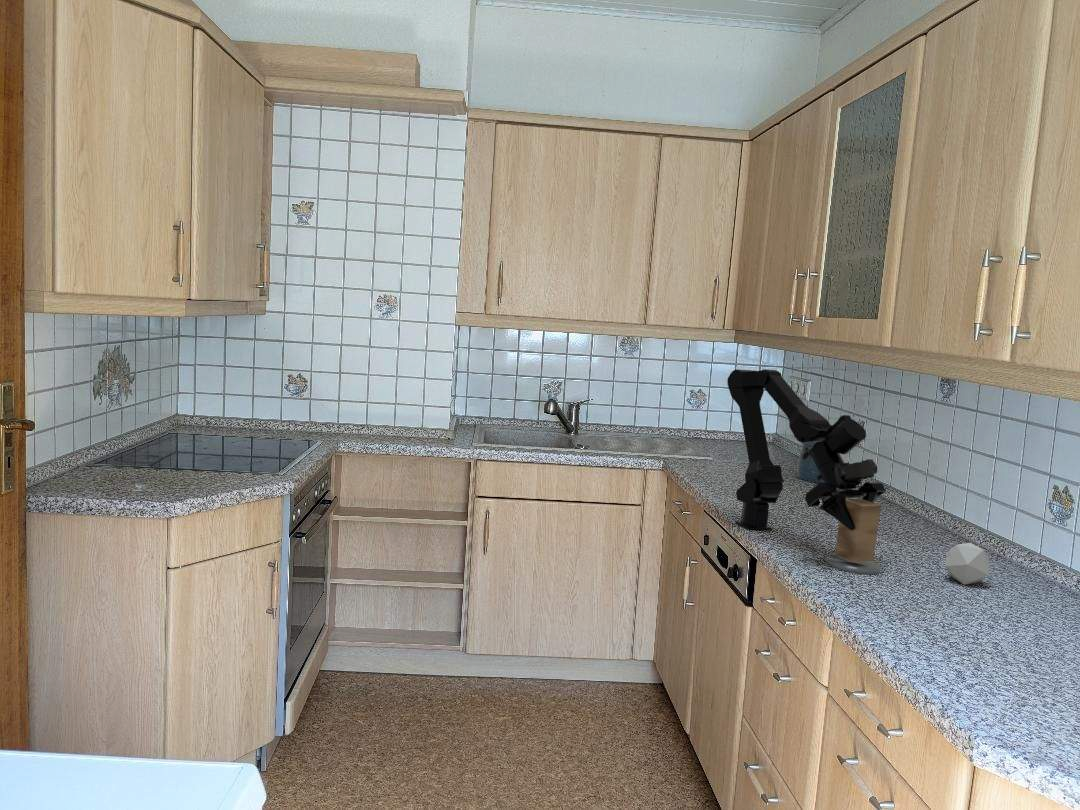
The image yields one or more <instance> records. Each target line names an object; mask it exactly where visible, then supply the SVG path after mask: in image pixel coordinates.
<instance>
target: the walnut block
mask: <svg viewBox="0 0 1080 810" xmlns="http://www.w3.org/2000/svg"><path fill="white" fill-rule="evenodd" d="M845 504H846V506H847V509H848V511H849V513H850V515H851V518H852V520H853V522H854V525H855V529H854V530H850V529H848V528H847V527H846V526H845V525H843V524H842V523H841V522H839V521H838V527H837V536H836V541H835V542H836V543H835V550H834V555H838V556H841V557H843V558H846V559H848V560H851V561H853V562H862V561H873V562H874V560H875V559H874V557H875V551H876V546H877V544H876V543H877V538H878V531H879V525H880V517H881V511H882V504H879V503H876V502H874V501H873V502H870V501H867V500H863V499H851V498H846V500H845Z"/></svg>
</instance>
